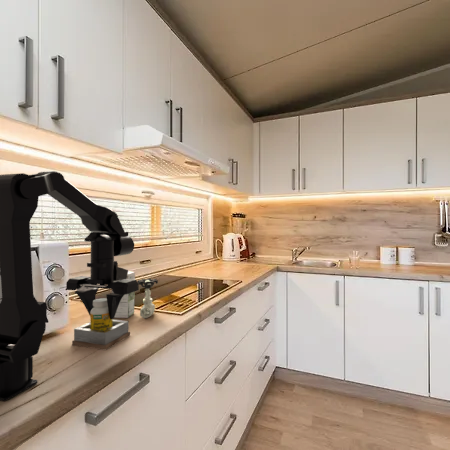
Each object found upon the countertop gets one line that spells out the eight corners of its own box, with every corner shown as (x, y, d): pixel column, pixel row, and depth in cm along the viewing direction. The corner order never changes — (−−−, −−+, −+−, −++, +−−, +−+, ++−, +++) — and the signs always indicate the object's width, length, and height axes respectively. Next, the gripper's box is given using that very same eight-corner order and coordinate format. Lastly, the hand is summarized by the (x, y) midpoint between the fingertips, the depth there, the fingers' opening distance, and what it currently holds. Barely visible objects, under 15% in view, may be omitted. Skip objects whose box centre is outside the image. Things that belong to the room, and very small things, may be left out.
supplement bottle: (112, 331, 83) (111, 296, 83) (113, 338, 78) (112, 301, 78) (90, 334, 81) (90, 298, 81) (90, 341, 76) (89, 303, 76)
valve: (159, 313, 104) (159, 278, 104) (155, 319, 98) (155, 282, 98) (140, 313, 104) (140, 278, 104) (135, 319, 97) (135, 282, 97)
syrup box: (118, 312, 104) (118, 270, 104) (135, 313, 104) (135, 270, 104) (111, 318, 99) (111, 273, 99) (128, 318, 98) (129, 273, 98)
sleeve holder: (105, 350, 74) (105, 333, 74) (72, 345, 77) (72, 329, 77) (130, 335, 83) (130, 321, 83) (99, 331, 86) (99, 317, 86)
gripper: (150, 256, 85) (149, 312, 85) (94, 254, 90) (94, 306, 90) (125, 260, 74) (125, 324, 74) (64, 258, 80) (64, 317, 80)
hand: (102, 317), depth 80 cm, fingers open, 6 cm apart
